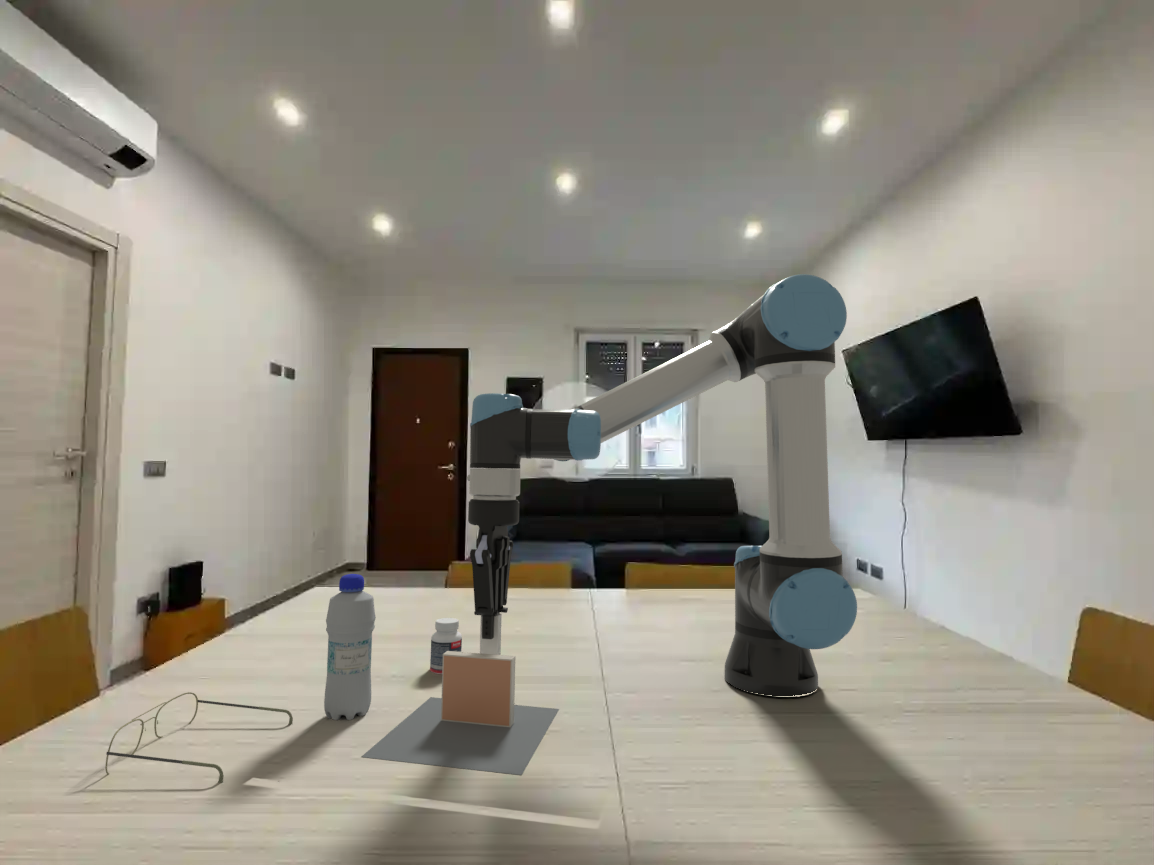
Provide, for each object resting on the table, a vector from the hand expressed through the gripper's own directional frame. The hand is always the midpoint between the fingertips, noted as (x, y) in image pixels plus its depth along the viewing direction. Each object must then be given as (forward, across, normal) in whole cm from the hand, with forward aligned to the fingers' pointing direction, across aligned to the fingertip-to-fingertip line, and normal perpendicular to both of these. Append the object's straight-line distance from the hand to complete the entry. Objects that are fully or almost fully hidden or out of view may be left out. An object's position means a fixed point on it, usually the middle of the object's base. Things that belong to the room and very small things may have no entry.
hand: (490, 659), depth 91 cm
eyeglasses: (+8, +20, -31) cm, 37 cm away
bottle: (+8, +6, -19) cm, 21 cm away
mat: (+8, +8, 0) cm, 11 cm away
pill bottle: (+8, -15, -13) cm, 21 cm away
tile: (+7, +5, 0) cm, 9 cm away
